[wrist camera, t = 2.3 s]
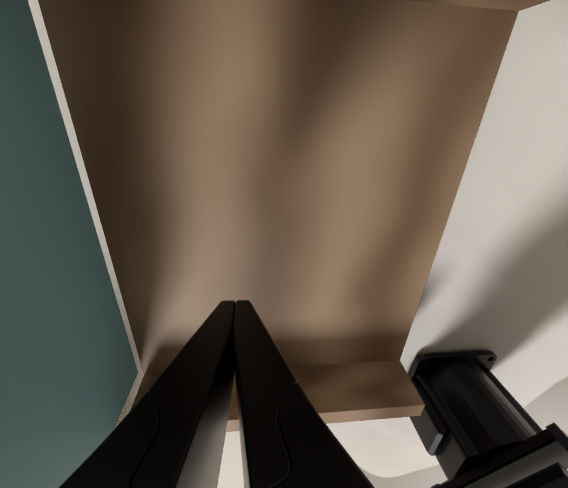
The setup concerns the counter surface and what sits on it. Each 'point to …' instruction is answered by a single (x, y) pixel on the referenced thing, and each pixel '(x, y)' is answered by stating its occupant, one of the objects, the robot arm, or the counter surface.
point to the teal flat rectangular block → (49, 283)
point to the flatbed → (280, 169)
